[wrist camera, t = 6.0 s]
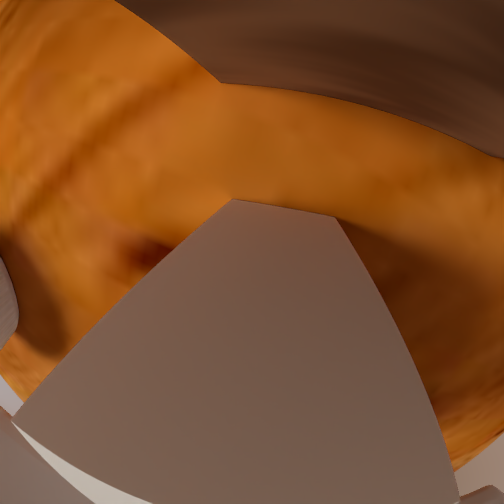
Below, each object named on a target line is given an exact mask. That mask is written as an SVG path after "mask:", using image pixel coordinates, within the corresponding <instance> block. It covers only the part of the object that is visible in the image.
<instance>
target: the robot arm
mask: <svg viewBox="0 0 504 504" xmlns="http://www.w3.org/2000/svg"><path fill="white" fill-rule="evenodd" d="M12 418H13V417H12V416H11V415H10V414H9V413H8V412H6V410H4V409H3V408H2V407H1V406H0V504H95V503H94V502H93V501H91V500H90V499H89V498H87V497H86V496H85V495H84V494H82V493H81V492H80V491H79V490H77V489H76V488H75V487H74V486H73V485H71V484H70V483H69V482H68V481H67V480H66V479H65V478H63V477H62V476H61V475H60V474H59V473H58V472H57V471H56V470H55V469H54V468H53V467H52V466H51V465H50V464H49V463H48V462H47V461H46V460H45V459H44V458H43V457H42V456H41V455H40V454H39V453H38V452H37V451H36V450H35V449H34V448H33V447H32V446H31V445H30V443H29V442H28V441H27V440H26V439H25V438H24V437H23V435H22V434H21V433H20V432H19V431H18V429H17V428H16V427H15V426H14V424H13V423H12V422H11V421H10V420H11V419H12ZM460 500H461V501H460V502H458V503H456V504H504V493H503V492H501V491H500V490H499V489H498V488H496V487H494V486H493V485H488V486H485V487H482V488H480V489H478V490H476V491H474V492H471V493H469V494H466V495H464V496H461V497H460Z"/></svg>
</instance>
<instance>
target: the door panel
mask: <svg viewBox="0 0 504 504" xmlns="http://www.w3.org/2000/svg"><path fill="white" fill-rule="evenodd" d="M10 421H11V422H12V423H13V424H14V426H15V427H16V428H17V429H18V431H19V432H20V433H21V434H22V435H23V437H24V438H25V439H26V440H27V441H28V442H29V443H30V445H31V446H32V447H33V448H34V449H35V450H36V451H37V452H38V453H39V454H40V455H41V456H42V457H43V458H44V459H45V460H46V461H47V462H48V463H49V464H50V465H51V466H52V467H53V468H54V469H55V470H56V471H57V472H58V473H59V474H60V475H61V476H62V477H63V478H65V479H66V480H67V481H68V482H69V483H70V484H71V485H73V486H74V487H75V488H76V489H77V490H79V491H80V492H81V493H82V494H84V495H85V496H86V497H87V498H89V499H90V500H91V501H93V502H94V503H95V504H456V503H458V502H460V501H461V500H460V496H459V491H458V487H457V483H456V479H455V476H454V472H453V468H452V464H451V461H450V458H449V454H448V451H447V448H446V445H445V442H444V439H443V436H442V433H441V430H440V427H439V424H438V421H437V418H436V416H435V413H434V410H433V408H432V405H431V402H430V400H429V397H428V395H427V392H426V390H425V387H424V385H423V382H422V380H421V378H420V375H419V373H418V371H417V368H416V366H415V364H414V362H413V359H412V357H411V355H410V353H409V351H408V348H407V346H406V344H405V342H404V340H403V338H402V336H401V334H400V332H399V330H398V328H397V326H396V324H395V322H394V320H393V318H392V316H391V314H390V312H389V310H388V308H387V306H386V304H385V302H384V300H383V298H382V296H381V295H380V293H379V291H378V289H377V287H376V285H375V284H374V282H373V280H372V278H371V276H370V275H369V273H368V271H367V269H366V268H365V266H364V264H363V262H362V261H361V259H360V257H359V256H358V254H357V252H356V251H355V249H354V247H353V246H352V244H351V242H350V241H349V239H348V237H347V236H346V234H345V232H344V231H343V229H342V228H341V226H340V224H339V223H338V221H337V220H336V218H335V217H332V216H327V215H322V214H316V213H311V212H306V211H301V210H295V209H290V208H284V207H278V206H273V205H267V204H261V203H255V202H248V201H242V200H236V199H231V200H230V201H229V202H228V203H227V204H225V205H224V206H223V207H222V208H221V209H220V210H218V211H217V212H216V213H215V214H214V215H213V216H211V217H210V218H209V219H208V220H207V221H206V222H204V223H203V224H202V225H201V226H200V227H199V228H197V229H196V230H195V231H194V232H193V233H192V234H191V235H189V236H188V237H187V238H186V239H185V240H184V241H183V242H182V243H180V244H179V245H178V246H177V247H176V248H175V249H174V250H173V251H172V252H170V253H169V254H168V255H167V256H166V257H165V258H164V259H163V260H162V261H161V262H160V263H158V264H157V265H156V266H155V267H154V268H153V269H152V270H151V271H150V272H149V273H148V274H147V275H146V276H145V277H143V278H142V279H141V280H140V281H139V282H138V283H137V284H136V285H135V286H134V287H133V288H132V289H131V290H130V291H129V292H128V293H127V294H126V295H125V296H124V297H123V298H122V299H121V300H120V301H119V302H117V303H116V304H115V305H114V306H113V307H112V308H111V309H110V310H109V311H108V312H107V313H106V314H105V315H104V316H103V317H102V318H101V319H100V320H99V321H98V323H97V324H96V325H95V326H94V327H93V328H92V329H91V330H90V331H89V332H88V333H87V334H86V335H85V336H84V337H83V338H82V339H81V340H80V341H79V342H78V343H77V344H76V345H75V346H74V347H73V349H72V350H71V351H70V352H69V353H68V354H67V355H66V356H65V357H64V358H63V359H62V360H61V362H60V363H59V364H58V365H57V366H56V367H55V368H54V369H53V370H52V372H51V373H50V374H49V375H48V376H47V377H46V378H45V379H44V381H43V382H42V383H41V384H40V385H39V386H38V387H37V389H36V390H35V391H34V392H33V393H32V394H31V396H30V397H29V398H28V399H27V400H26V402H25V403H24V404H23V405H22V406H21V408H20V409H19V410H18V411H17V413H16V414H15V415H14V416H13V418H12V419H11V420H10Z"/></svg>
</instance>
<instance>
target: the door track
mask: <svg viewBox="0 0 504 504" xmlns="http://www.w3.org/2000/svg"><path fill="white" fill-rule="evenodd" d="M115 1H116V2H118V3H120V4H121V5H123V6H124V7H126V8H127V9H129V10H130V11H132V12H133V13H134V14H136V15H137V16H139V17H140V18H142V19H143V20H144V21H146V22H147V23H149V24H150V25H151V26H153V27H154V28H155V29H157V30H158V31H159V32H161V33H162V34H163V35H165V36H166V37H167V38H169V39H170V40H171V41H172V42H174V43H175V44H176V45H177V46H179V47H180V48H181V49H182V50H184V51H185V52H186V53H187V54H188V55H190V56H191V57H192V58H193V59H194V60H196V61H197V62H198V63H199V64H200V65H201V66H203V67H204V68H205V69H206V70H207V71H208V72H209V73H211V74H212V75H213V76H214V77H215V78H216V79H217V80H218V81H220V82H221V83H234V84H247V85H258V86H267V87H275V88H282V89H289V90H296V91H302V92H307V93H313V94H318V95H323V96H328V97H333V98H337V99H341V100H346V101H350V102H354V103H357V104H361V105H365V106H369V107H372V108H375V109H379V110H382V111H385V112H389V113H392V114H395V115H398V116H401V117H404V118H406V119H409V120H412V121H415V122H418V123H420V124H423V125H425V126H428V127H430V128H433V129H435V130H438V131H440V132H442V133H445V134H447V135H449V136H452V137H454V138H456V139H458V140H460V141H462V142H465V143H467V144H469V145H471V146H473V147H475V148H477V149H479V150H480V151H482V152H484V153H486V154H488V155H490V156H494V157H501V158H504V0H115Z"/></svg>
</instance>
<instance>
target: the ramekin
mask: <svg viewBox="0 0 504 504" xmlns="http://www.w3.org/2000/svg"><path fill="white" fill-rule="evenodd" d="M18 319H19V309H18V303H17V299H16V295H15V292H14V288H13V285H12V282H11V279H10V277H9V274H8V272H7V269H6V267H5V265H4V263H3V260H2V258H1V257H0V350H1V349H2V348H3V346H4V345H5V344H6V342H7V341H8V340H9V338H10V337H11V336H12V334H13V333H14V331H15V330H16V328H17V324H18Z"/></svg>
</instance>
